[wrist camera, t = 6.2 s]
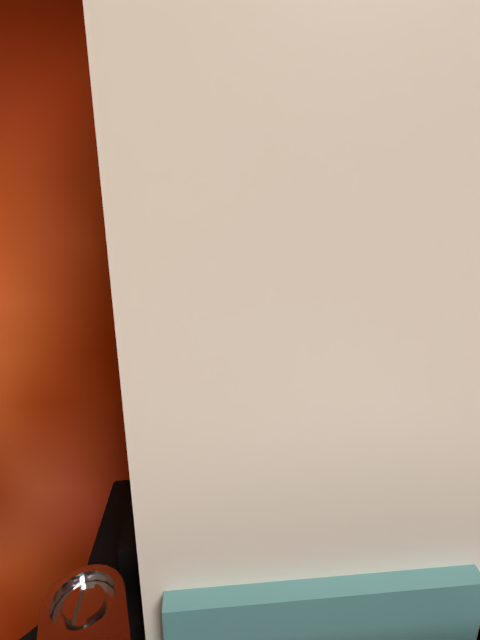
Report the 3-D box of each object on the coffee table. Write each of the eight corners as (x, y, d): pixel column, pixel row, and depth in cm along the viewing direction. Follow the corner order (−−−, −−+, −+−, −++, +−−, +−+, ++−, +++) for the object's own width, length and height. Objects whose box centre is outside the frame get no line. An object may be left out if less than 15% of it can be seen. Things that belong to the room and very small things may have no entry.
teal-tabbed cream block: (381, -30, 9) (781, -548, 3) (340, 476, 12) (471, 736, 6) (148, -40, 8) (2, -684, 2) (178, 487, 12) (154, 775, 6)
